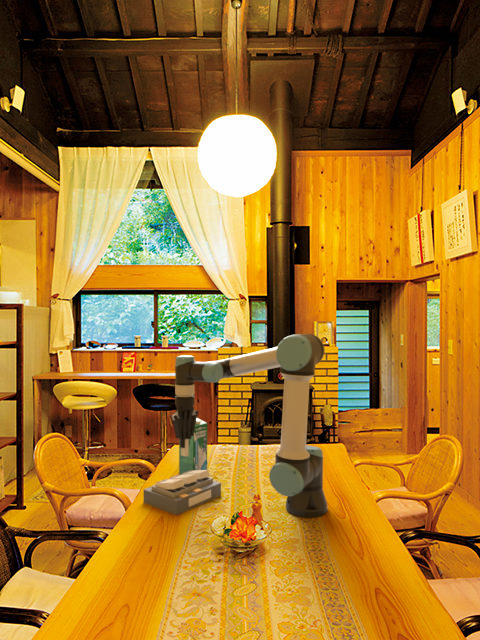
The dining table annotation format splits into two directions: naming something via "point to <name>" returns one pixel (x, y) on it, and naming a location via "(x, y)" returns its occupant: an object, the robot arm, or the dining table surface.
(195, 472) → the rocker
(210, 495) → the switch unit
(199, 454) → the milk carton
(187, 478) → the rocker
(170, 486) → the rocker
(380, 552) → the dining table surface
